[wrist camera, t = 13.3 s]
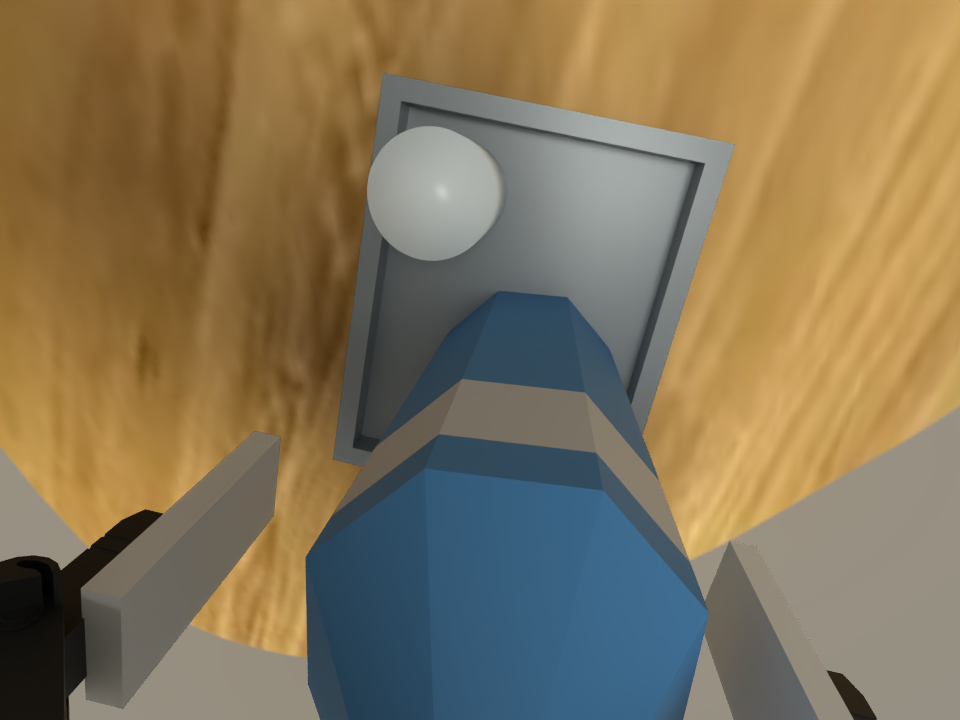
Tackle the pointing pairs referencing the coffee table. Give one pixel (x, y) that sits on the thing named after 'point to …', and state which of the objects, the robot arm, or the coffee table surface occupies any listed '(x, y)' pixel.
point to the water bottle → (506, 543)
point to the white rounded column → (435, 192)
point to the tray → (534, 244)
